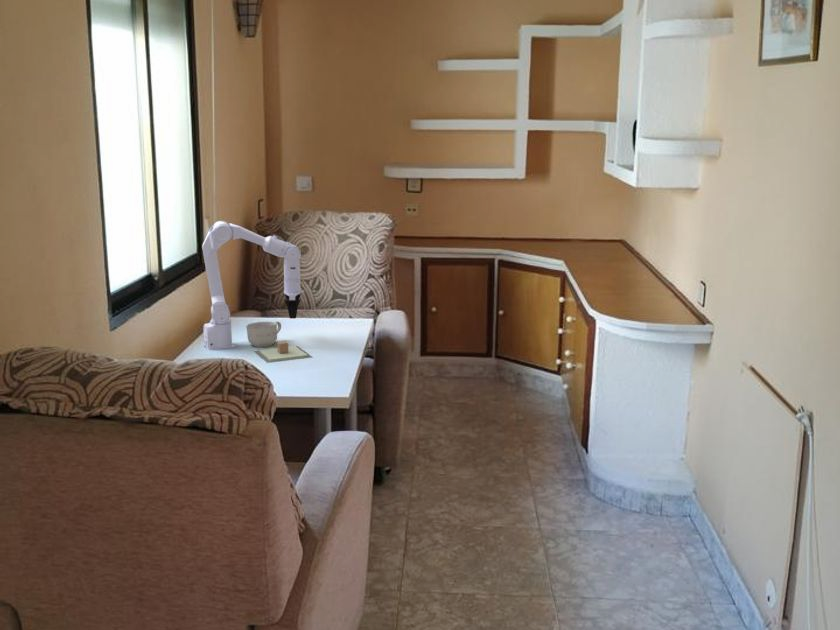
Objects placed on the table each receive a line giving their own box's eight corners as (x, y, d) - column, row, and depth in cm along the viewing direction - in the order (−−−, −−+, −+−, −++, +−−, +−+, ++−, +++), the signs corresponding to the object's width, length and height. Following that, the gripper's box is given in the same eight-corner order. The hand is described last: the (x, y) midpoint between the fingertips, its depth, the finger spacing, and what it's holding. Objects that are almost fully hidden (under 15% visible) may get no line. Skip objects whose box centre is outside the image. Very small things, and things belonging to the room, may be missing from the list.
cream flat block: (270, 361, 280) (269, 349, 279) (258, 351, 291) (258, 340, 291) (307, 356, 286) (307, 344, 285) (294, 347, 297) (294, 336, 296)
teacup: (256, 351, 294) (255, 328, 292) (241, 344, 302) (240, 323, 300) (290, 344, 303) (290, 323, 301) (275, 338, 311) (275, 317, 309)
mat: (267, 363, 278) (267, 362, 278) (253, 352, 292) (253, 351, 292) (313, 358, 285) (313, 357, 285) (297, 347, 299) (297, 346, 299)
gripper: (303, 282, 294) (304, 320, 297) (303, 274, 308) (304, 311, 311) (283, 282, 293) (283, 320, 296) (283, 275, 307) (284, 311, 310)
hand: (292, 315), depth 304 cm, fingers open, 7 cm apart
